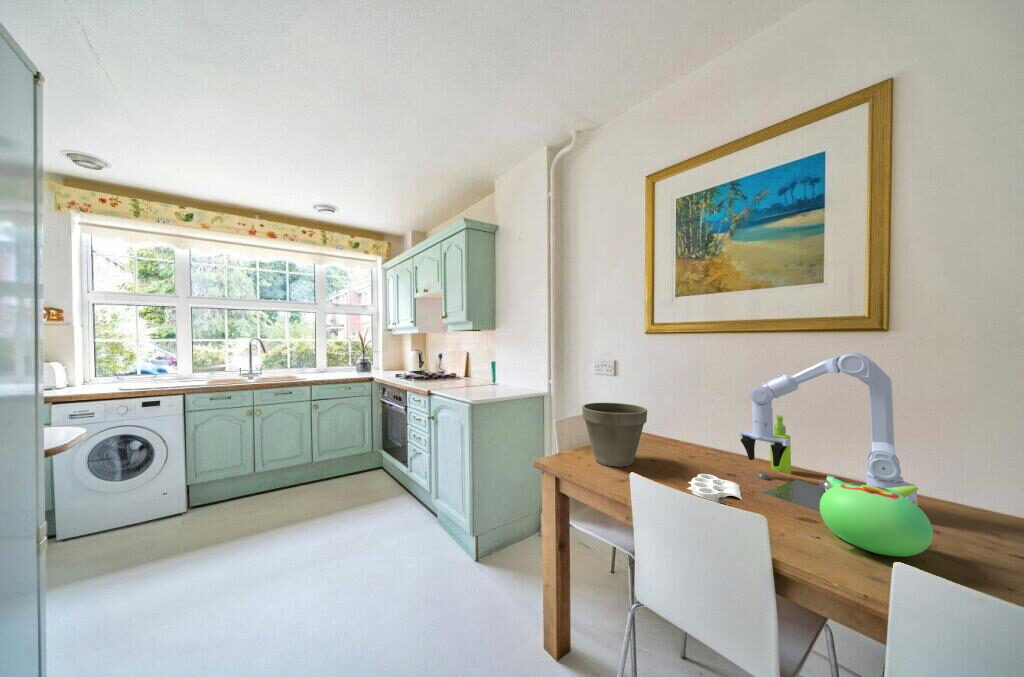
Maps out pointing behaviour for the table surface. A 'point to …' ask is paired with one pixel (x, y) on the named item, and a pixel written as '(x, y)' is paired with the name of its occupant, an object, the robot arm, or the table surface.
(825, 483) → the t key
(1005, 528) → the table surface
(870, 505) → the toy bird
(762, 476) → the cover
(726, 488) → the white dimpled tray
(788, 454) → the soap dispenser
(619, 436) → the plant pot
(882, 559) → the table surface
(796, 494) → the panel
